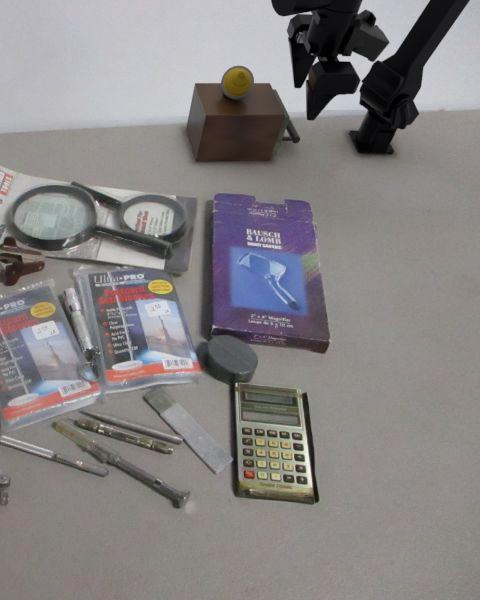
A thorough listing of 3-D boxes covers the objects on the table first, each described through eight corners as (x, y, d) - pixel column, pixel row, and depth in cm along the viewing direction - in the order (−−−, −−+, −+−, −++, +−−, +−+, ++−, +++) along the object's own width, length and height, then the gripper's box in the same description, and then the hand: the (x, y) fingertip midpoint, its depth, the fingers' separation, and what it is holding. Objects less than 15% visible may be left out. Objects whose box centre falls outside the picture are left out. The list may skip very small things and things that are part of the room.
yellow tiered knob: (256, 95, 103) (264, 79, 93) (226, 108, 103) (232, 95, 94) (244, 66, 102) (251, 48, 93) (214, 80, 103) (218, 63, 94)
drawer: (285, 126, 111) (298, 89, 105) (299, 155, 105) (313, 117, 99) (198, 127, 110) (207, 89, 104) (208, 155, 104) (217, 117, 98)
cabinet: (256, 128, 112) (269, 82, 104) (269, 161, 105) (285, 114, 98) (185, 129, 111) (194, 82, 104) (195, 162, 104) (205, 115, 97)
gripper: (419, 38, 77) (371, 139, 89) (376, -23, 89) (338, 74, 101) (333, 35, 77) (297, 137, 89) (302, -26, 89) (273, 72, 101)
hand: (303, 103), depth 95 cm, fingers open, 9 cm apart
